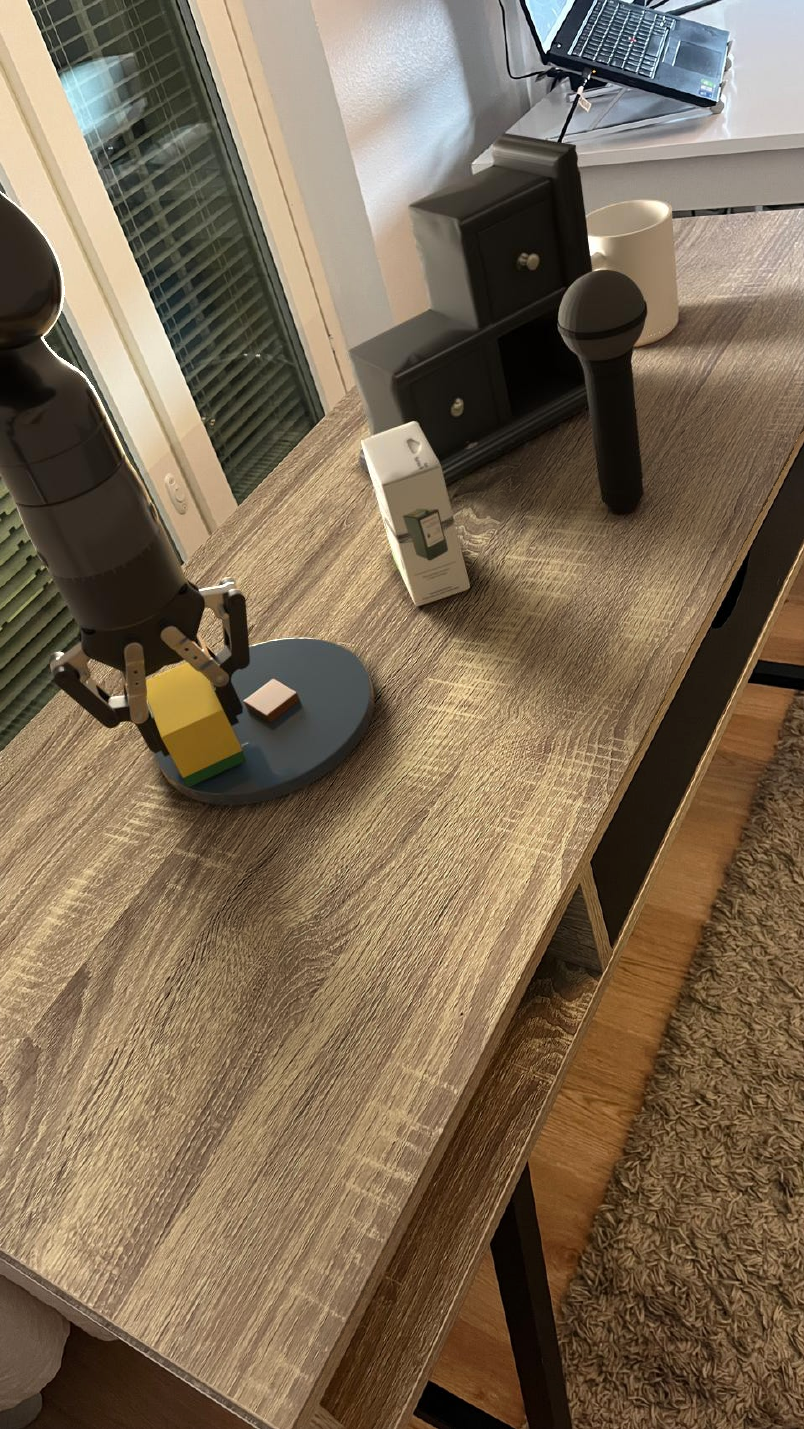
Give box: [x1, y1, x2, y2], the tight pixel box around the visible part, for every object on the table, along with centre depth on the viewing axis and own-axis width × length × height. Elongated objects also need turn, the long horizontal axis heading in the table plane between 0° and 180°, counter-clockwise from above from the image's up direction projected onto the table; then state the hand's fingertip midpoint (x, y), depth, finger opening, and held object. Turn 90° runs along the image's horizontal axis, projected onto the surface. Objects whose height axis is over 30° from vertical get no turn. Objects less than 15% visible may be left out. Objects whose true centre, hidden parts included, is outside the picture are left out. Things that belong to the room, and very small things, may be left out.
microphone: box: [557, 270, 648, 516], centre depth 84 cm, size 7×7×20 cm
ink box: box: [360, 421, 471, 607], centre depth 87 cm, size 9×5×12 cm, turn 14°
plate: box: [154, 637, 376, 806], centre depth 81 cm, size 17×17×1 cm
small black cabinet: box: [346, 132, 592, 486], centre depth 98 cm, size 23×11×24 cm, turn 122°
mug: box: [585, 198, 680, 348], centre depth 110 cm, size 10×12×12 cm
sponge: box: [146, 661, 247, 787], centre depth 77 cm, size 4×7×5 cm, turn 23°
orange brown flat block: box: [244, 679, 300, 723], centre depth 80 cm, size 3×3×1 cm
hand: (198, 732), depth 77 cm, fingers closed on sponge, 4 cm apart
